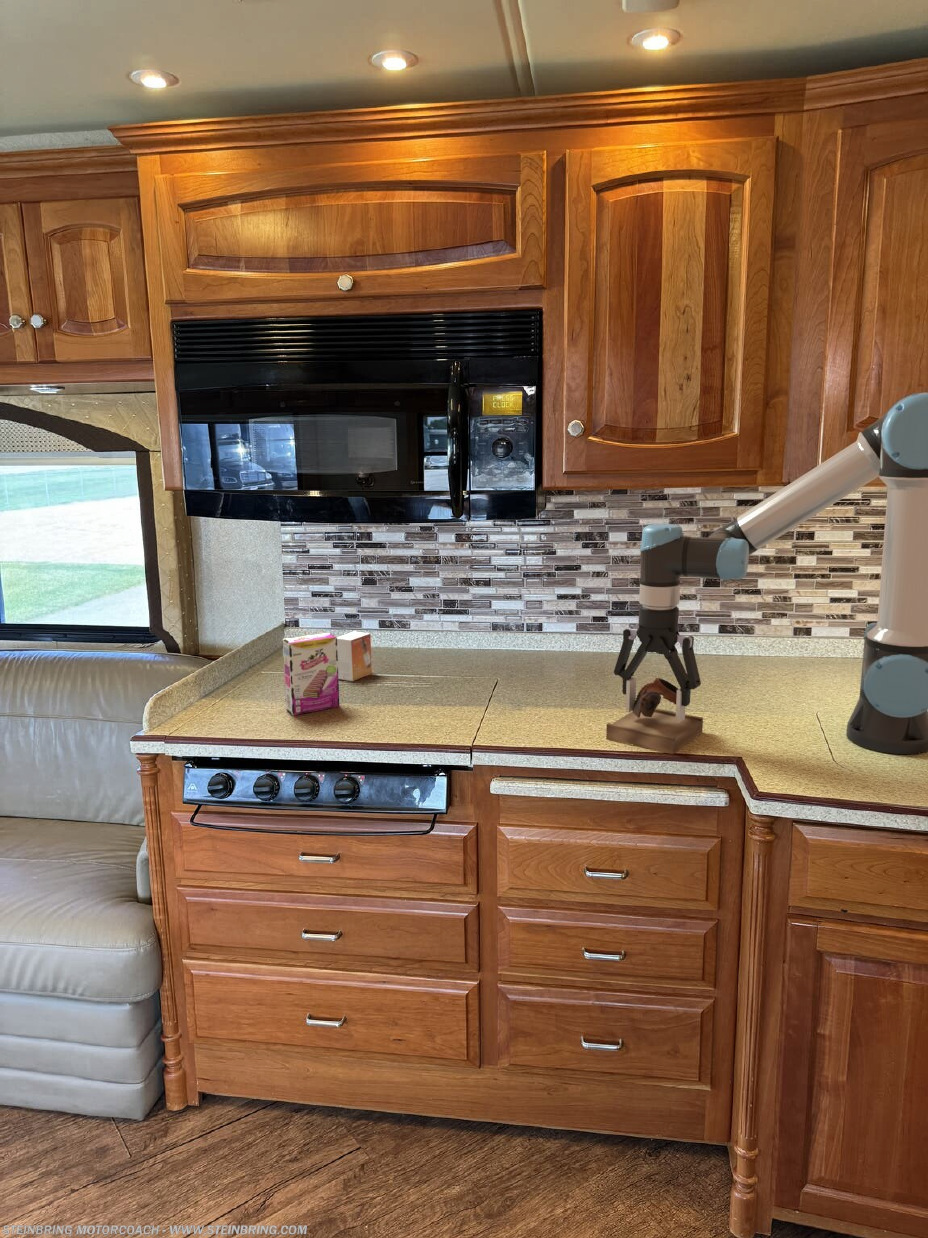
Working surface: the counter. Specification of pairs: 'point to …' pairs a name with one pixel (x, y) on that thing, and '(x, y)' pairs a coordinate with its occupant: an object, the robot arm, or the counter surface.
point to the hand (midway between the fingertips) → (654, 715)
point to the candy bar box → (311, 673)
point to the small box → (354, 655)
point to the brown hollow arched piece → (653, 697)
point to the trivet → (655, 730)
